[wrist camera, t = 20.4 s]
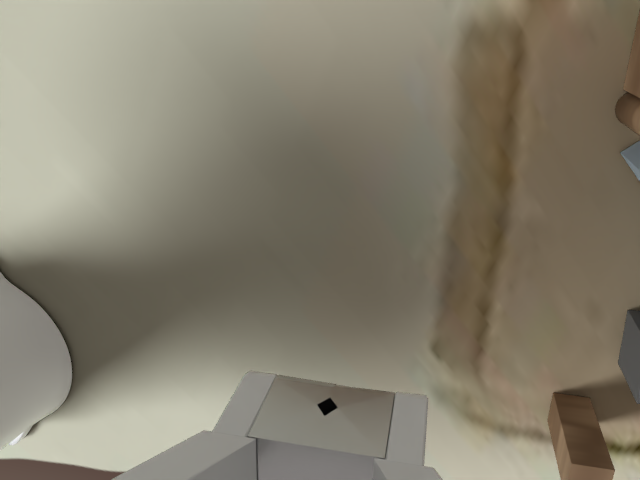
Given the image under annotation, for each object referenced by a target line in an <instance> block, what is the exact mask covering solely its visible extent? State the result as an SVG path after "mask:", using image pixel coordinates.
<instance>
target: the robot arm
mask: <svg viewBox="0 0 640 480" xmlns="http://www.w3.org/2000/svg"><path fill="white" fill-rule="evenodd" d="M71 382H72V365H71V359H70V355H69V351H68V348H67V346H66V343H65V341H64V339H63V337H62V335H61V333H60V331H59V329H58V328H57V326H56V325H55V323H54V322H53V321H52V319H51V318H50V317H49V315H48V314H47V313H46V312H45V311H44V310H43V309H42V308H41V307H40V306H39V305H38V304H37V303H36V302H35V301H34V300H33V299H32V298H30V297H29V296H28V295H27V294H25V293H24V292H22V291H21V290H19V289H18V288H17V287H15V286H14V285H13V284H11V283H10V282H9V281H8V280H7V279H6V278H5V277H4V276H3V275H2V273H1V272H0V451H1V450H2V449H3V448H4V447H6V446H7V445H14V444H16V443H18V442H19V441H20V440H21V439H23V438H24V437H25V436H26V435H27V434H28V432H29V431H30V429H31V428H32V426H33V425H34V424H35V423H37V422H38V421H40V420H41V419H43V418H44V417H46V416H48V415H49V414H51V413H53V412H54V411H56V410H57V409H58V408H59V407H60V406H61V405H62V404H63V402H64V401H65V399H66V397H67V395H68V393H69V390H70V387H71ZM427 410H428V398H427V396H426V395H420V394H411V393H402V392H396V394H395V393H394V392H386V391H379V390H371V389H364V388H356V387H349V386H341V385H336V384H332V383H326V382H319V381H313V380H307V379H301V378H295V377H289V376H283V375H278V376H277V375H276V374H269V373H262V372H255V371H249V372H247V373H246V374H245V375H244V376H243V378H242V380H241V381H240V383H239V385H238V387H237V388H236V390H235V392H234V394H233V396H232V397H231V399H230V401H229V403H228V404H227V406H226V408H225V410H224V411H223V413H222V415H221V417H220V419H219V420H218V422H217V424H216V426H215V427H214V429H213V431H212V432H211V431H204V430H203V431H202V432H200V433H198V434H196V435H194V436H192V437H190V438H188V439H187V440H185V441H183V442H181V443H179V444H177V445H175V446H173V447H172V448H170V449H168V450H166V451H164V452H162V453H160V454H158V455H157V456H155V457H153V458H151V459H149V460H147V461H145V462H143V463H142V464H140V465H138V466H136V467H134V468H132V469H130V470H128V471H127V472H125V473H123V474H121V475H119V476H117V477H116V478H114V479H112V480H442V478H441V477H440V476H439V474H438V473H437V472H436V470H435V469H434V468H432V467H426V466H424V458H425V442H426V426H427Z"/></svg>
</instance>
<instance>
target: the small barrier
mask: <svg viewBox="0 0 640 480" xmlns="http://www.w3.org/2000/svg"><path fill="white" fill-rule="evenodd" d="M623 90H625V91H627V93H626V94H624V95H623V96H622V97H621V98H620V99H619V100H618V102H617V104H616V108H615V113H616V117H617V118H618V120H619V121H620V122H621V123H623V124H624V125H626V126H627V127H628V128H630V129H631V130H633V131H634V132H635V133H637V134H638V135H640V11H639V16H638V21H637V25H636V30H635V35H634V40H633V44H632V49H631V54H630V59H629V63H628V68H627V73H626V78H625V82H624V87H623ZM548 425H549V429H550V434H551V438H552V442H553V447H554V451H555V455H556V460H557V464H558V469H559V473H560V477H561V480H612V479H613V475H614V472H615V469H614V466H613V464H612V461H611V458H610V455H609V452H608V449H607V446H606V443H605V441H604V438H603V435H602V432H601V429H600V426H599V423H598V420H597V418H596V415H595V412H594V409H593V406H592V403H591V400H590V398H588V397H581V396H574V395H566V394H559V393H553V396H552V401H551V406H550V411H549V416H548Z"/></svg>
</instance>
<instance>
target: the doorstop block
mask: <svg viewBox="0 0 640 480" xmlns="http://www.w3.org/2000/svg"><path fill="white" fill-rule="evenodd" d="M618 364H619V366H620V368H621V370H622V373H623V375H624V377H625V379H626V381H627V383H628V386H629V388H630V390H631V392H632V394H633V396H634V399H635V401H636V403H637V404H640V311H636V310H628V311H627V316H626V322H625V327H624V333H623V338H622V344H621V349H620V355H619V360H618Z"/></svg>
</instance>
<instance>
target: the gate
mask: <svg viewBox="0 0 640 480" xmlns="http://www.w3.org/2000/svg"><path fill="white" fill-rule="evenodd" d="M620 153H621V155H622V156H623V158H624V159H625V161H626V162H627V164H628V165H629V166H630V168H631V169H632V171H633V172H634V174H635V175H636V177H637V178H638V180H639V181H640V141H638V142H637V143H635V144H633V145H632V146H630V147H628V148H627V149H625V150H624V151H622V152H620Z"/></svg>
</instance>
